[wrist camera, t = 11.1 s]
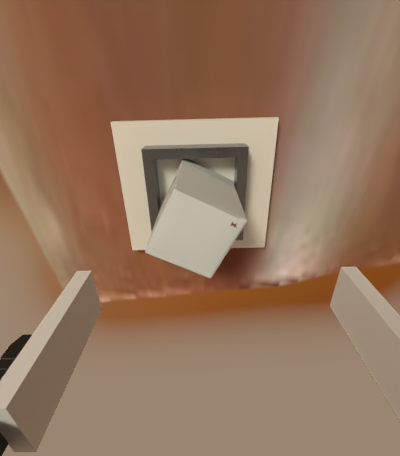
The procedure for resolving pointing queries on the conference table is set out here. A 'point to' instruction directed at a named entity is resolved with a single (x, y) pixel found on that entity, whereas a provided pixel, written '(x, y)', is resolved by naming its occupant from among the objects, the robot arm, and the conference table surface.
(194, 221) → the supplement box
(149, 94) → the conference table surface
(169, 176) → the base plate
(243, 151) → the collar
